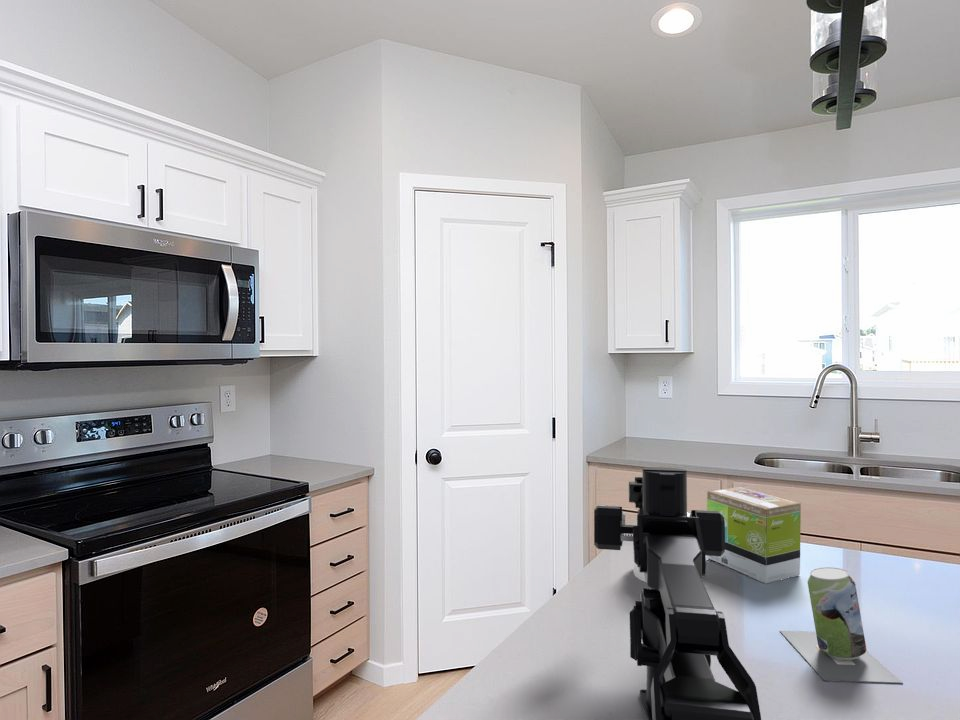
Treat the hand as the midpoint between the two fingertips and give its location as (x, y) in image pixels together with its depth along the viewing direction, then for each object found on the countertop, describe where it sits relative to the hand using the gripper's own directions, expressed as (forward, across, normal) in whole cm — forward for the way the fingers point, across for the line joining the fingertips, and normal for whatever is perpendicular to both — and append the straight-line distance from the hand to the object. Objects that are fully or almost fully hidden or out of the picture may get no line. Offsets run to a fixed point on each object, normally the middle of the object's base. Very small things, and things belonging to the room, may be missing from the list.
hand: (652, 519), depth 98 cm
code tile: (-6, -25, +17) cm, 31 cm away
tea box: (+29, -22, +14) cm, 39 cm away
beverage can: (-6, -25, +17) cm, 31 cm away
